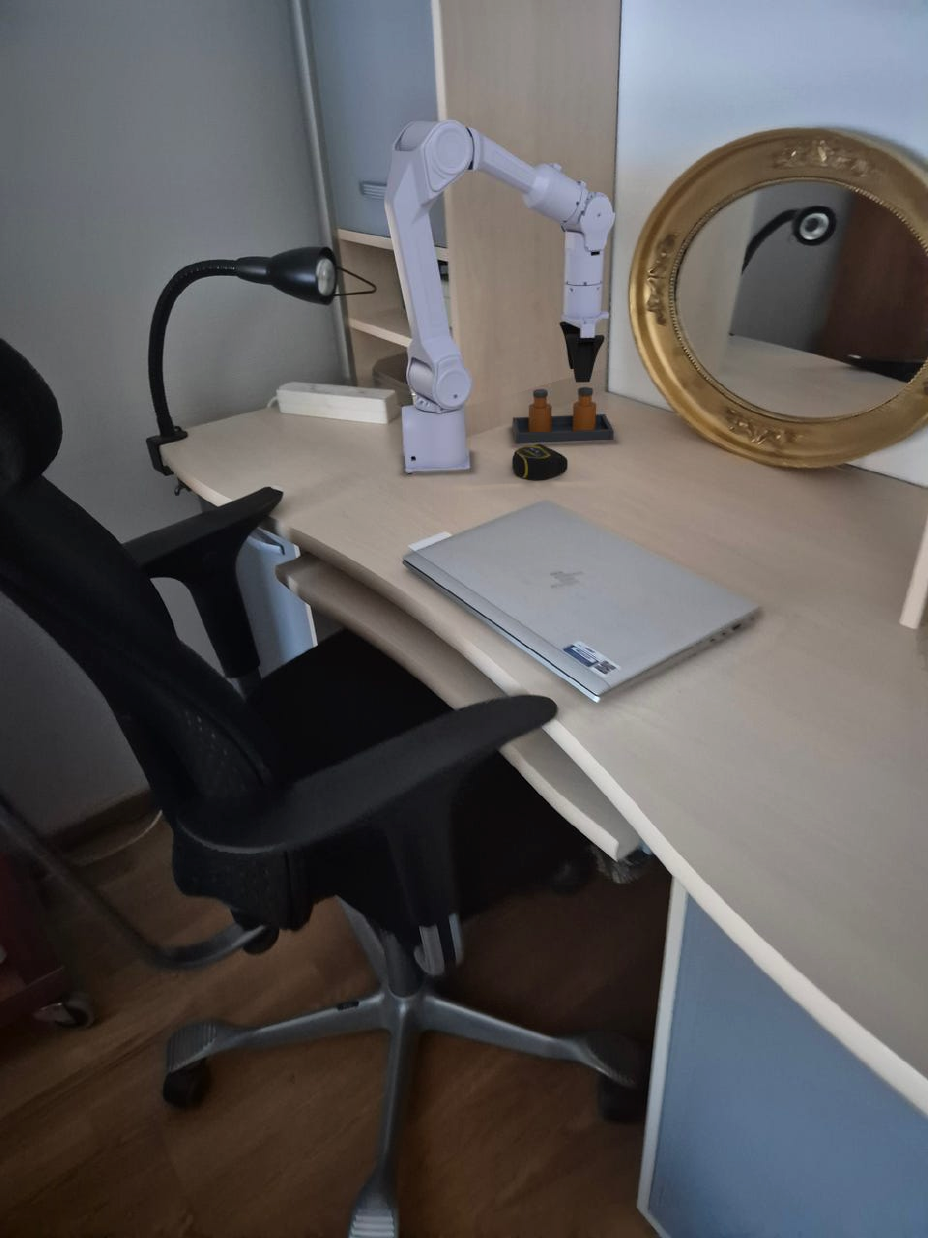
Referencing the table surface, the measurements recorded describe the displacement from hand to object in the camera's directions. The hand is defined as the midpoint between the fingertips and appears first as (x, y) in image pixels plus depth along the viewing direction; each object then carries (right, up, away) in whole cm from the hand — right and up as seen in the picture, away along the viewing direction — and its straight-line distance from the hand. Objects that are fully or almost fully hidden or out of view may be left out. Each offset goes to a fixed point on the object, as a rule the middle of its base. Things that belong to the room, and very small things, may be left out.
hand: (579, 374), depth 127 cm
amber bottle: (+1, -8, +4) cm, 9 cm away
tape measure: (-7, -17, -10) cm, 21 cm away
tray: (-2, -9, +4) cm, 10 cm away
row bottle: (-6, -8, +4) cm, 11 cm away
